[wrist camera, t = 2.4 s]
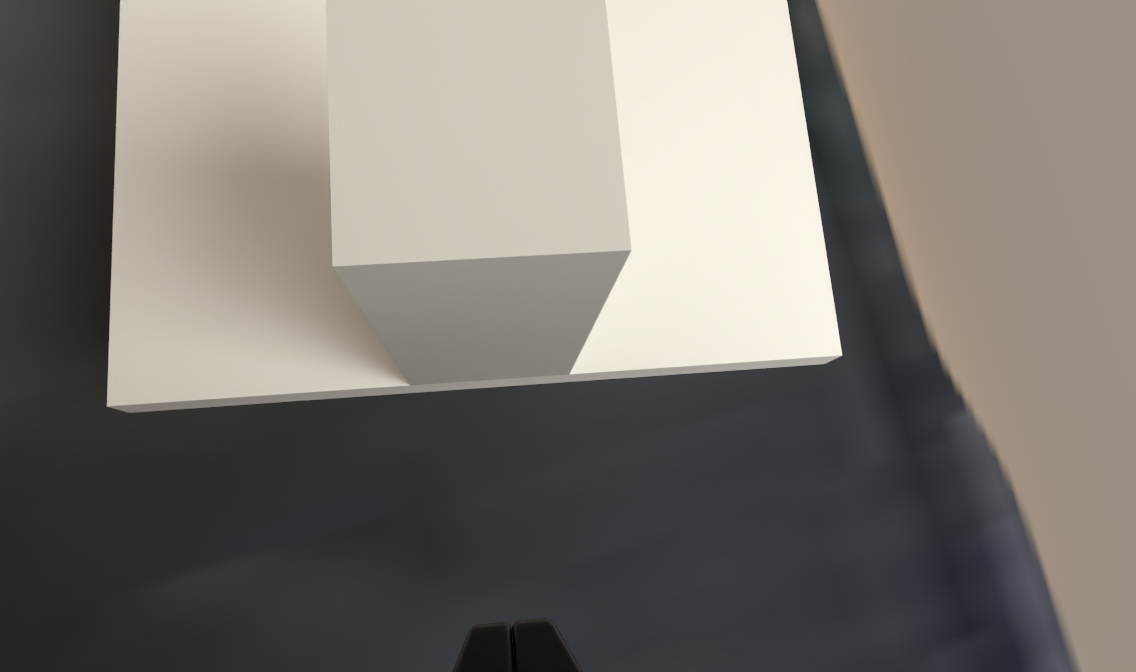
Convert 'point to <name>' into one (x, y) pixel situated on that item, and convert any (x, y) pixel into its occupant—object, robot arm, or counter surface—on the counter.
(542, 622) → the robot arm
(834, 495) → the counter surface
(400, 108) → the lid
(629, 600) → the counter surface
